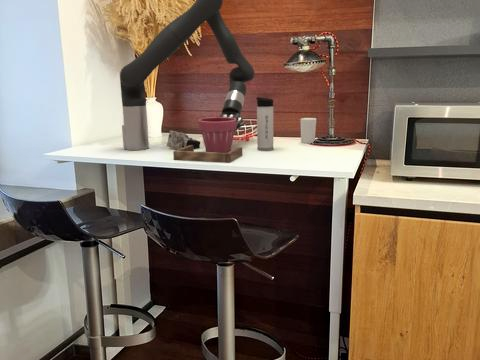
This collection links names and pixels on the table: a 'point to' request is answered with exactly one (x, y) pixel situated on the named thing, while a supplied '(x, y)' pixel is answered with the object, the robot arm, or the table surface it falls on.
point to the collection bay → (206, 155)
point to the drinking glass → (308, 130)
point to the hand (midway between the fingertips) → (223, 139)
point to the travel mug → (264, 124)
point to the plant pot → (218, 133)
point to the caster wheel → (181, 140)
